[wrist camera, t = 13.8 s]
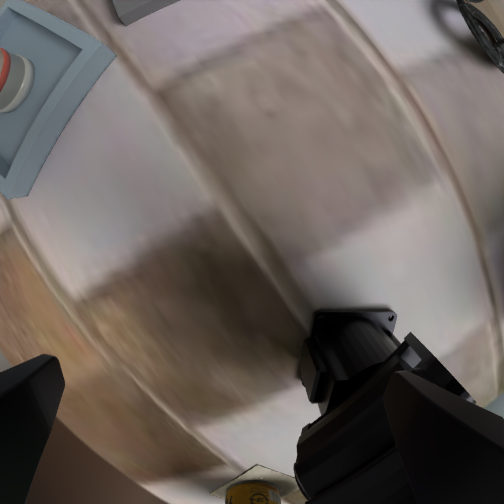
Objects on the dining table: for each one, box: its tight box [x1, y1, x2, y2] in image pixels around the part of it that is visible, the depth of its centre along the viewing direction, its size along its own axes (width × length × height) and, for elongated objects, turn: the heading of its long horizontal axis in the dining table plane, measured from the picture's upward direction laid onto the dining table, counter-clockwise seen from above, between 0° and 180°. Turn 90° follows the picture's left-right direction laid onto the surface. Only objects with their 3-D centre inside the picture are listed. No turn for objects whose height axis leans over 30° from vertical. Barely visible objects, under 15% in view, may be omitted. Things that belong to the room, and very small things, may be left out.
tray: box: [0, 0, 117, 200], centre depth 14 cm, size 14×12×2 cm
